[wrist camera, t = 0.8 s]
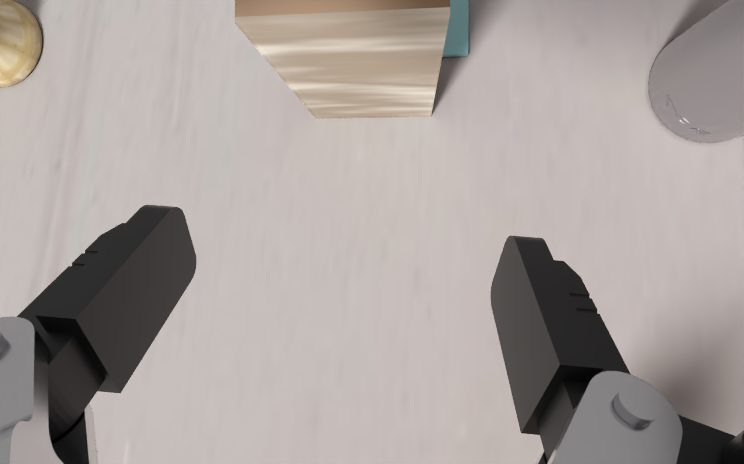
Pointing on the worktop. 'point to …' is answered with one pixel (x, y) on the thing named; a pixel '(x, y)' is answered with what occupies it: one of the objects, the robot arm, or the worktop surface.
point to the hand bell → (17, 42)
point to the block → (352, 52)
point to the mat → (457, 29)
